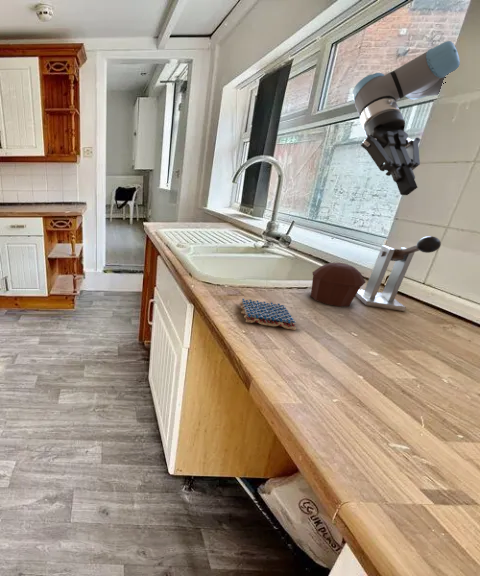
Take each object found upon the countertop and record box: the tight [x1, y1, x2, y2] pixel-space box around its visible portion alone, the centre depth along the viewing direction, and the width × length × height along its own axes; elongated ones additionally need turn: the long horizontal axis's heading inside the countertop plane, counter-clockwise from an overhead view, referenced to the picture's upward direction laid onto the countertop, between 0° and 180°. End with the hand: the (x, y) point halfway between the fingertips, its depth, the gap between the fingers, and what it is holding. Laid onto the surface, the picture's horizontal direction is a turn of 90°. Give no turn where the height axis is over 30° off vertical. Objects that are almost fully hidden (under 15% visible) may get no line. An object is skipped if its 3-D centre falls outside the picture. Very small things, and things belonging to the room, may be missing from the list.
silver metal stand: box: [355, 244, 416, 312], centre depth 81 cm, size 10×8×15 cm
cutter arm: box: [390, 235, 442, 262], centre depth 73 cm, size 15×4×4 cm, turn 160°
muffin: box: [310, 262, 367, 308], centre depth 81 cm, size 12×11×10 cm
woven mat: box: [238, 298, 297, 331], centre depth 71 cm, size 10×11×2 cm
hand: (409, 191), depth 73 cm, fingers closed
